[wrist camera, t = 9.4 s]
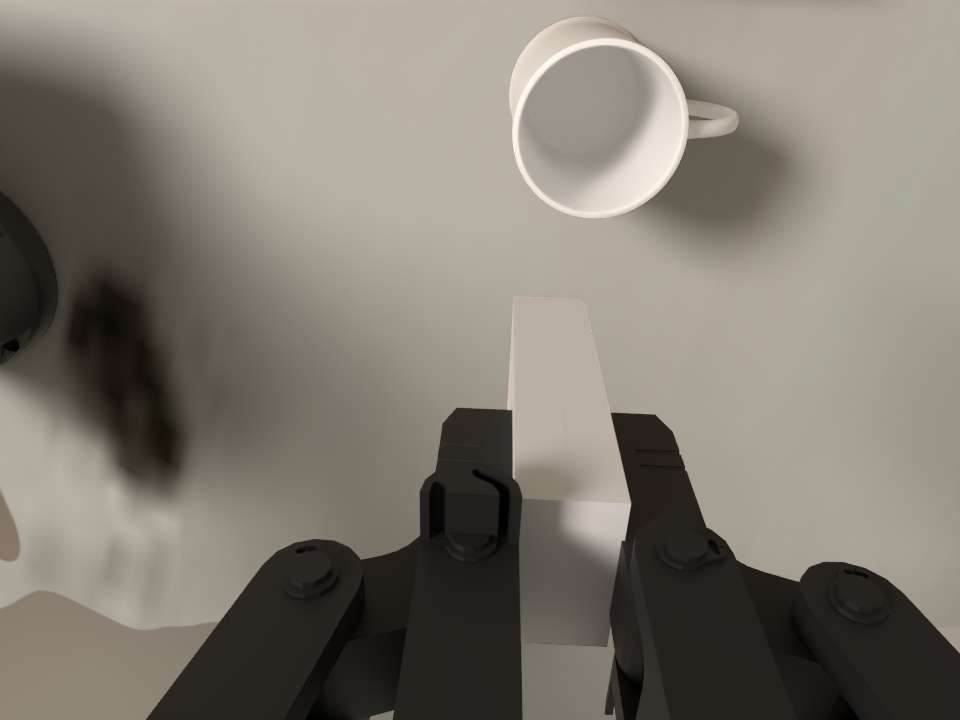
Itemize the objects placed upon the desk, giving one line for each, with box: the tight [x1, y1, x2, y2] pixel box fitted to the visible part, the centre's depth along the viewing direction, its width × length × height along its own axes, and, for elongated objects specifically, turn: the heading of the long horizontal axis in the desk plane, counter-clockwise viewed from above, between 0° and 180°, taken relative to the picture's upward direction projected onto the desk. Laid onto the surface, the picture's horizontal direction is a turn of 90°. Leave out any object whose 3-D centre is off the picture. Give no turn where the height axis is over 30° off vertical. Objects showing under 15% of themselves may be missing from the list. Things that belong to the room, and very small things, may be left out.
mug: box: [509, 17, 739, 218], centre depth 38 cm, size 12×8×12 cm
